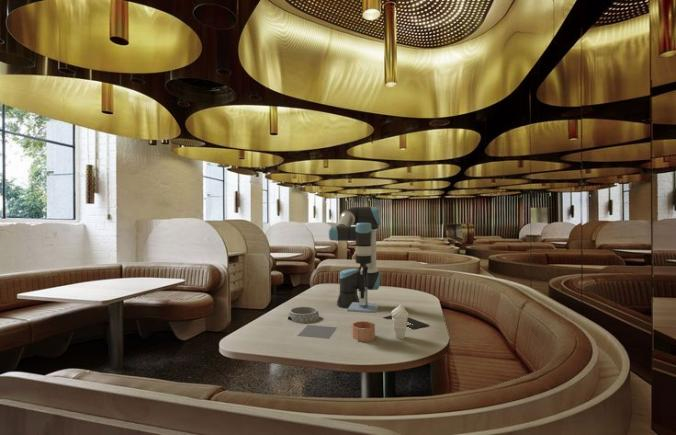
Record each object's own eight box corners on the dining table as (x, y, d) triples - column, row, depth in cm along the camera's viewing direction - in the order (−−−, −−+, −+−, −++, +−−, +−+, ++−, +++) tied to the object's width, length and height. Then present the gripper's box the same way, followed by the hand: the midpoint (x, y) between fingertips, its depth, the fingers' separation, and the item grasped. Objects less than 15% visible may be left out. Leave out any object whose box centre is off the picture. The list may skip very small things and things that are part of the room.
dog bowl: (309, 312, 195) (309, 304, 195) (325, 321, 180) (325, 311, 180) (283, 317, 186) (283, 308, 186) (297, 326, 171) (297, 316, 171)
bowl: (354, 332, 162) (354, 320, 162) (376, 334, 159) (376, 322, 159) (349, 340, 151) (349, 327, 151) (373, 342, 148) (373, 329, 148)
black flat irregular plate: (410, 332, 164) (430, 326, 172) (410, 331, 164) (430, 324, 172) (378, 319, 185) (398, 314, 193) (378, 317, 185) (398, 312, 193)
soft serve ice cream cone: (398, 341, 149) (398, 307, 149) (387, 336, 157) (387, 303, 157) (412, 338, 153) (412, 305, 153) (401, 333, 161) (401, 301, 161)
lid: (352, 304, 163) (352, 284, 163) (378, 305, 160) (378, 285, 160) (347, 311, 150) (347, 289, 150) (375, 313, 147) (375, 291, 147)
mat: (307, 326, 171) (307, 324, 171) (337, 328, 167) (337, 327, 167) (297, 337, 155) (297, 335, 155) (329, 340, 152) (329, 338, 152)
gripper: (358, 252, 164) (358, 298, 164) (352, 256, 148) (352, 307, 148) (373, 253, 162) (373, 299, 162) (368, 257, 146) (368, 309, 146)
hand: (363, 303), depth 155 cm, fingers closed on lid, 4 cm apart
